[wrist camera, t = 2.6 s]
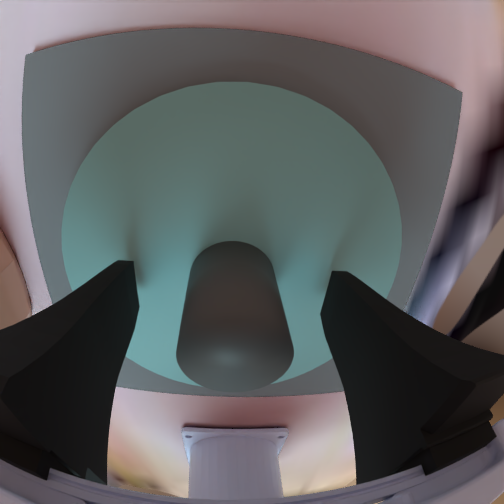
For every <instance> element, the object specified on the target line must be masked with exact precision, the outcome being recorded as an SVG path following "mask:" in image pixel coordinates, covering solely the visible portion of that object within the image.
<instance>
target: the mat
mask: <svg viewBox="0 0 504 504" xmlns="http://www.w3.org/2000/svg"><path fill="white" fill-rule="evenodd" d="M214 82H252V83H258V84H264V85H270V86H276V87H280V88H283V89H286V90H289V91H292V92H295V93H298V94H300V95H303V96H306V97H308V98H310V99H312V100H314V101H316V102H318V103H319V104H321V105H323V106H325V107H327V108H329V109H330V110H332V111H333V112H334V113H336V114H337V115H339V116H340V117H341V118H343V119H344V120H345V121H346V122H348V123H349V124H350V125H352V126H353V127H354V128H355V129H356V130H357V132H358V133H359V134H360V135H361V136H362V137H363V138H364V139H365V140H366V141H367V142H368V143H369V144H370V146H371V147H372V149H373V150H374V151H375V153H376V154H377V156H378V157H379V159H380V160H381V162H382V163H383V165H384V167H385V169H386V171H387V173H388V175H389V177H390V179H391V182H392V184H393V187H394V190H395V193H396V197H397V200H398V204H399V209H400V216H401V223H402V246H401V253H400V260H399V265H398V269H397V272H396V276H395V279H394V282H393V285H392V287H391V289H390V291H389V294H388V296H387V298H386V299H387V300H388V301H389V302H391V303H392V304H394V305H395V306H397V307H398V308H400V309H401V310H402V311H403V309H404V307H405V305H406V302H407V300H408V298H409V295H410V293H411V291H412V288H413V286H414V283H415V281H416V278H417V276H418V273H419V271H420V268H421V265H422V263H423V260H424V257H425V254H426V252H427V249H428V246H429V243H430V240H431V237H432V234H433V231H434V228H435V224H436V221H437V218H438V214H439V211H440V208H441V204H442V200H443V197H444V193H445V189H446V185H447V181H448V177H449V172H450V168H451V163H452V158H453V154H454V148H455V143H456V137H457V131H458V125H459V118H460V111H461V102H462V92H460V91H459V90H457V89H455V88H453V87H451V86H449V85H446V84H444V83H442V82H440V81H438V80H436V79H434V78H431V77H429V76H427V75H425V74H422V73H420V72H417V71H415V70H412V69H410V68H407V67H405V66H402V65H400V64H397V63H394V62H391V61H388V60H386V59H383V58H380V57H377V56H373V55H370V54H367V53H364V52H360V51H357V50H353V49H350V48H346V47H342V46H338V45H334V44H330V43H326V42H321V41H316V40H312V39H307V38H301V37H296V36H290V35H283V34H276V33H269V32H260V31H251V30H239V29H222V28H169V29H153V30H141V31H132V32H124V33H116V34H110V35H103V36H98V37H92V38H87V39H82V40H78V41H73V42H69V43H65V44H61V45H57V46H53V47H50V48H46V49H43V50H40V51H36V52H33V53H30V54H27V55H26V57H25V66H24V77H23V92H22V145H23V161H24V172H25V182H26V190H27V197H28V204H29V210H30V216H31V222H32V227H33V232H34V237H35V242H36V246H37V250H38V255H39V259H40V263H41V266H42V270H43V274H44V277H45V281H46V284H47V288H48V291H49V294H50V297H51V300H52V303H53V304H54V303H56V302H58V301H59V300H61V299H62V298H64V297H65V296H67V295H68V294H70V293H71V292H73V291H72V289H71V286H70V283H69V280H68V277H67V274H66V270H65V265H64V260H63V253H62V230H61V229H62V221H63V213H64V207H65V203H66V200H67V196H68V193H69V190H70V187H71V184H72V182H73V180H74V178H75V176H76V174H77V171H78V169H79V167H80V165H81V164H82V162H83V161H84V159H85V158H86V156H87V155H88V153H89V152H90V151H91V149H92V148H93V146H94V145H95V144H96V143H97V142H98V140H99V139H100V138H101V137H102V136H103V135H104V134H105V133H106V132H107V131H108V130H109V129H110V128H111V127H112V126H113V125H114V124H116V123H117V122H118V121H119V120H121V119H122V118H123V117H125V116H126V115H127V114H129V113H130V112H132V111H133V110H134V109H136V108H138V107H140V106H142V105H143V104H145V103H147V102H149V101H151V100H153V99H155V98H157V97H159V96H161V95H164V94H167V93H170V92H173V91H176V90H179V89H182V88H185V87H189V86H195V85H201V84H207V83H214ZM116 387H123V388H130V389H137V390H144V391H153V392H162V393H172V394H185V395H200V396H224V397H271V396H295V395H310V394H322V393H333V392H342V391H344V388H343V385H342V382H341V379H340V376H339V373H338V371H337V368H336V365H335V363H334V360H333V358H332V359H330V360H329V361H327V362H326V363H324V364H322V365H320V366H318V367H316V368H314V369H313V370H311V371H308V372H306V373H304V374H301V375H299V376H296V377H294V378H291V379H288V380H284V381H281V382H278V383H274V384H269V385H267V386H265V387H262V388H260V389H256V390H252V391H247V392H233V393H232V392H221V391H216V390H212V389H208V388H205V387H202V386H196V385H190V384H186V383H183V382H179V381H175V380H172V379H169V378H167V377H164V376H161V375H158V374H156V373H154V372H152V371H150V370H148V369H146V368H144V367H142V366H140V365H139V364H137V363H135V362H134V361H132V360H130V359H129V358H127V357H126V356H125V359H124V361H123V364H122V367H121V370H120V373H119V376H118V380H117V384H116Z"/></svg>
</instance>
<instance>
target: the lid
mask: <svg viewBox="0 0 504 504" xmlns="http://www.w3.org/2000/svg"><path fill="white" fill-rule="evenodd" d="M61 230H62V253H63V260H64V265H65V270H66V274H67V277H68V280H69V283H70V286H71V289H72V291H74V290H76V289H77V288H79V287H80V286H82V285H83V284H84V283H86V282H87V281H88V280H90V279H91V278H93V277H94V276H95V275H97V274H98V273H100V272H101V271H102V270H104V269H105V268H106V267H108V266H109V265H111V264H112V263H114V262H116V261H117V260H126V261H134V269H135V277H136V284H137V292H138V298H139V305H140V307H139V312H138V317H137V321H136V326H135V330H134V333H133V336H132V339H131V341H130V344H129V347H128V350H127V353H126V357H127V358H129V359H130V360H132V361H134V362H135V363H137V364H139V365H140V366H142V367H144V368H146V369H148V370H150V371H152V372H154V373H156V374H158V375H161V376H164V377H167V378H169V379H172V380H175V381H179V382H183V383H186V384H190V385H196V386H202V387H205V388H208V389H212V390H216V391H221V392H232V393H233V392H247V391H252V390H256V389H260V388H262V387H265V386H267V385H269V384H274V383H278V382H281V381H284V380H288V379H291V378H294V377H296V376H299V375H301V374H304V373H306V372H308V371H311V370H313V369H314V368H316V367H318V366H320V365H322V364H324V363H326V362H327V361H329V360H330V359H332V358H333V357H332V355H331V352H330V349H329V346H328V344H327V341H326V338H325V335H324V330H323V326H322V321H321V316H320V312H321V308H322V305H323V301H324V298H325V294H326V291H327V287H328V283H329V280H330V276H331V272H332V271H347V272H349V273H351V274H352V275H354V276H355V277H357V278H358V279H360V280H361V281H363V282H364V283H365V284H367V285H368V286H369V287H371V288H372V289H373V290H375V291H376V292H377V293H379V294H380V295H381V296H383V297H384V298H385V299H386V298H387V296H388V294H389V291H390V289H391V287H392V285H393V282H394V279H395V276H396V272H397V269H398V265H399V260H400V253H401V246H402V223H401V216H400V209H399V204H398V200H397V197H396V193H395V190H394V187H393V184H392V182H391V179H390V177H389V175H388V173H387V171H386V169H385V167H384V165H383V163H382V162H381V160H380V159H379V157H378V156H377V154H376V153H375V151H374V150H373V149H372V147H371V146H370V144H369V143H368V142H367V141H366V140H365V139H364V138H363V137H362V136H361V135H360V134H359V133H358V132H357V130H356V129H355V128H354V127H353V126H352V125H350V124H349V123H348V122H346V121H345V120H344V119H343V118H341V117H340V116H339V115H337V114H336V113H334V112H333V111H332V110H330V109H329V108H327V107H325V106H323V105H321V104H319V103H318V102H316V101H314V100H312V99H310V98H308V97H306V96H303V95H300V94H298V93H295V92H292V91H289V90H286V89H283V88H280V87H276V86H270V85H264V84H258V83H252V82H214V83H207V84H201V85H195V86H189V87H185V88H182V89H179V90H176V91H173V92H170V93H167V94H164V95H161V96H159V97H157V98H155V99H153V100H151V101H149V102H147V103H145V104H143V105H142V106H140V107H138V108H136V109H134V110H133V111H132V112H130V113H129V114H127V115H126V116H125V117H123V118H122V119H121V120H119V121H118V122H117V123H116V124H114V125H113V126H112V127H111V128H110V129H109V130H108V131H107V132H106V133H105V134H104V135H103V136H102V137H101V138H100V139H99V140H98V142H97V143H96V144H95V145H94V146H93V148H92V149H91V151H90V152H89V153H88V155H87V156H86V158H85V159H84V161H83V162H82V164H81V165H80V167H79V169H78V171H77V174H76V176H75V178H74V180H73V182H72V184H71V187H70V190H69V193H68V196H67V200H66V203H65V207H64V213H63V221H62V229H61Z"/></svg>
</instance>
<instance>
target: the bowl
mask: <svg viewBox="0 0 504 504" xmlns="http://www.w3.org/2000/svg"><path fill="white" fill-rule="evenodd" d="M31 316H32V313H31V304H30V299H29V294H28V290H27V287H26V283H25V280H24V277H23V275H22V272H21V269H20V267H19V264H18V262H17V260H16V257H15V255H14V253H13V251H12V249H11V247H10V245H9V243H8V241H7V240H6V238H5V236H4V234H3V232H2V231H1V229H0V330H1V329H4V328H6V327H9V326H11V325H14V324H16V323H18V322H20V321H22V320H24V319H26V318H28V317H31Z"/></svg>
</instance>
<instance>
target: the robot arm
mask: <svg viewBox="0 0 504 504" xmlns="http://www.w3.org/2000/svg"><path fill="white" fill-rule="evenodd" d="M139 307H140V305H139V298H138V292H137V284H136V277H135V269H134V261H126V260H117V261H116V262H114V263H112V264H111V265H109V266H108V267H106V268H105V269H104V270H102V271H101V272H100V273H98V274H97V275H95V276H94V277H93V278H91V279H90V280H88V281H87V282H86V283H84V284H83V285H82V286H80V287H79V288H77V289H76V290H74V291H73V292H71V293H70V294H68V295H67V296H65V297H64V298H62V299H61V300H59V301H58V302H56V303H54V304H53V305H51V306H49V307H48V308H46V309H44V310H42V311H40V312H39V313H37V314H35V315H33V316H31V317H28V318H26V319H24V320H22V321H20V322H18V323H16V324H14V325H11V326H9V327H6V328H4V329H1V330H0V504H374V503H378V502H381V501H383V502H381V503H378V504H491V503H492V502H493V501H494V500H495V499H497V498H498V497H499V496H500V495H501V494H502V493H503V492H504V419H501V420H500V421H498V422H497V423H496V424H494V425H493V426H491V424H490V422H489V420H491V418H492V417H493V414H492V413H491V411H490V408H491V407H492V406H493V405H494V404H495V403H496V402H497V401H498V399H499V398H500V397H501V396H502V395H503V394H504V355H501V354H498V353H494V352H490V351H486V350H483V349H479V348H476V347H474V346H470V345H468V344H465V343H463V342H460V341H458V340H455V339H453V338H451V337H449V336H447V335H444V334H442V333H440V332H438V331H436V330H434V329H432V328H430V327H429V326H427V325H425V324H423V323H422V322H420V321H418V320H416V319H415V318H413V317H412V316H410V315H408V314H407V313H405V312H404V311H402V310H401V309H400V308H398V307H397V306H395V305H394V304H392V303H391V302H389V301H388V300H387V299H385V298H384V297H383V296H381V295H380V294H379V293H377V292H376V291H375V290H373V289H372V288H371V287H369V286H368V285H367V284H365V283H364V282H363V281H361V280H360V279H358V278H357V277H355V276H354V275H352V274H351V273H349V272H347V271H332V272H331V276H330V280H329V283H328V287H327V291H326V294H325V298H324V301H323V305H322V308H321V312H320V316H321V321H322V326H323V330H324V335H325V338H326V341H327V344H328V346H329V349H330V352H331V355H332V357H333V360H334V363H335V365H336V368H337V371H338V373H339V376H340V379H341V382H342V385H343V388H344V392H345V396H346V401H347V405H348V410H349V415H350V421H351V427H352V433H353V441H354V450H355V461H356V485H354V486H350V487H345V488H340V489H335V490H330V491H325V492H319V493H313V494H306V495H299V496H290V497H284V496H283V489H282V482H281V475H280V468H279V461H278V455H279V453H280V451H281V449H282V447H283V445H284V442H285V440H286V438H287V436H288V434H289V432H288V429H287V428H267V429H212V428H193V427H184V428H182V432H181V433H182V438H183V442H184V446H185V451H186V455H187V459H188V463H189V498H180V497H171V496H162V495H155V494H148V493H142V492H137V491H130V490H126V489H121V488H117V487H112V486H108V485H107V450H108V436H109V426H110V418H111V411H112V405H113V399H114V393H115V388H116V384H117V380H118V376H119V373H120V370H121V367H122V364H123V361H124V359H125V356H126V353H127V350H128V347H129V344H130V341H131V339H132V336H133V333H134V330H135V326H136V321H137V317H138V312H139Z"/></svg>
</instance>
